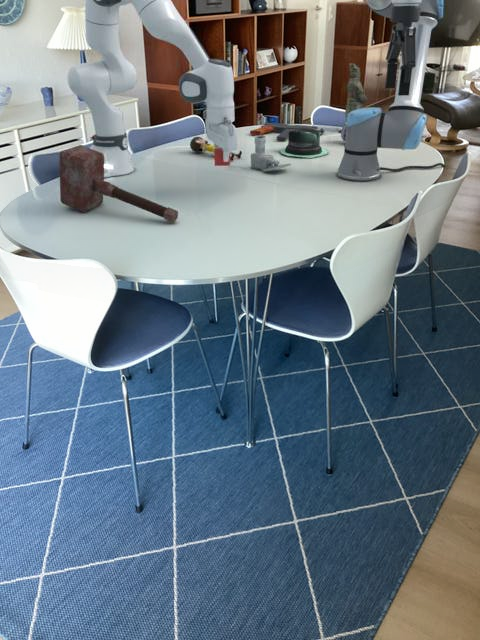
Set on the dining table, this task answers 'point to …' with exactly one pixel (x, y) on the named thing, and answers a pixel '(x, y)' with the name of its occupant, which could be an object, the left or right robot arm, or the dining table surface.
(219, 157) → the block
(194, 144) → the figurine
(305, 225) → the dining table surface
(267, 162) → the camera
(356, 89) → the statue
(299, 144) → the dark green rounded hat
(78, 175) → the sledgehammer
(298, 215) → the dining table surface
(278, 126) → the submachine gun
